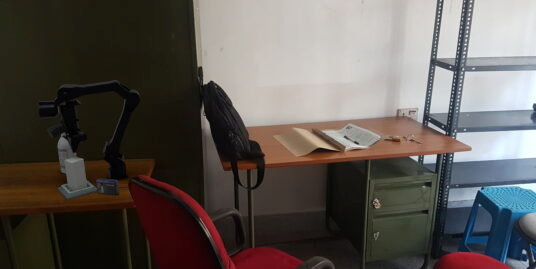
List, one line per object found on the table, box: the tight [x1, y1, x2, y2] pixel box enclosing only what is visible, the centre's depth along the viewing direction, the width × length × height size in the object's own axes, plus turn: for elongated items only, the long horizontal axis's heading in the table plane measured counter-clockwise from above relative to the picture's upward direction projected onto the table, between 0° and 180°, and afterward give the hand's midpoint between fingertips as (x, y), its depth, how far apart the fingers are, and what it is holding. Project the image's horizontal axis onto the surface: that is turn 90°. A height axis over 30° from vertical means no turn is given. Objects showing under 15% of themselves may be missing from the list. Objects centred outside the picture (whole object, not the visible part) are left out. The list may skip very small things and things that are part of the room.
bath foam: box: [57, 133, 78, 174], centre depth 189 cm, size 7×7×20 cm
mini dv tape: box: [96, 178, 120, 196], centre depth 170 cm, size 8×2×6 cm, turn 80°
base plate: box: [57, 179, 98, 201], centre depth 173 cm, size 12×12×2 cm
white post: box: [64, 156, 87, 191], centre depth 171 cm, size 5×5×12 cm
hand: (74, 152), depth 177 cm, fingers closed
